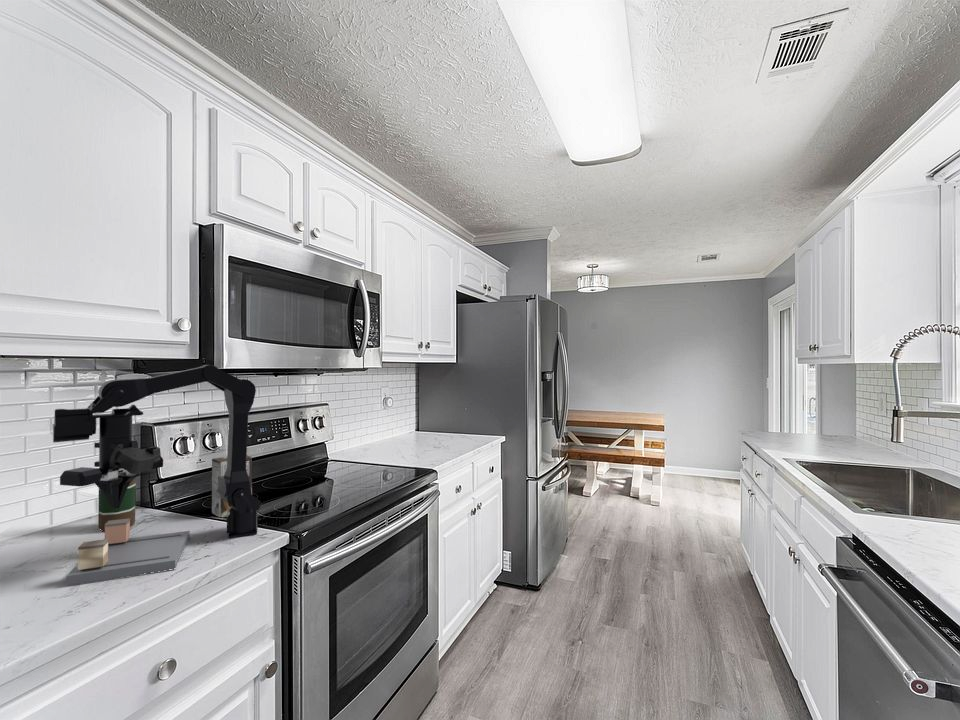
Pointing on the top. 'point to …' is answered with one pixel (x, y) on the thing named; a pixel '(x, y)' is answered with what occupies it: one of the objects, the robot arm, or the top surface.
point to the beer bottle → (122, 512)
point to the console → (135, 558)
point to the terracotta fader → (117, 530)
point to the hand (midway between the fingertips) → (115, 508)
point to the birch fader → (92, 554)
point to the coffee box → (218, 469)
